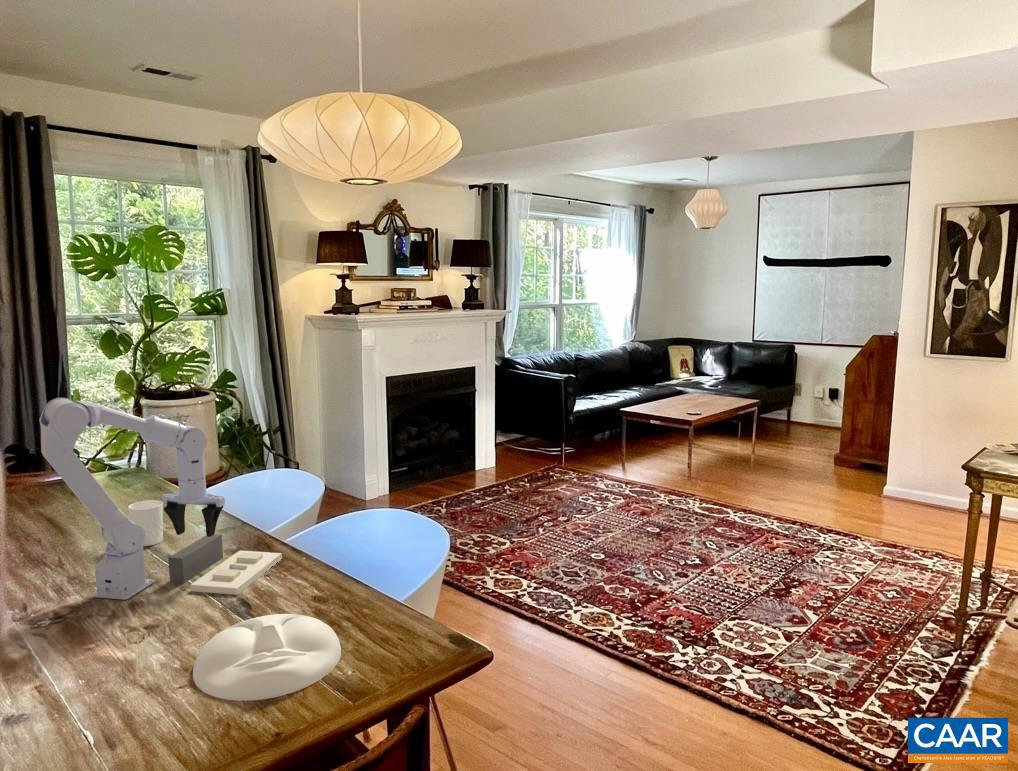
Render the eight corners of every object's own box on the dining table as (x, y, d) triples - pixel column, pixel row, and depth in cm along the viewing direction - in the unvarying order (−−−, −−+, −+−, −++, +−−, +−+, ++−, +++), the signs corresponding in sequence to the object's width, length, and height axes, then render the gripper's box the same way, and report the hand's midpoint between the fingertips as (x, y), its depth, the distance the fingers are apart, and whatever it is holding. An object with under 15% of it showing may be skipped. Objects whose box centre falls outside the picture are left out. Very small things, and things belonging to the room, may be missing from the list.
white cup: (140, 550, 176) (137, 511, 175) (125, 543, 181) (122, 505, 179) (171, 540, 182) (168, 503, 181) (156, 534, 187) (153, 498, 186)
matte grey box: (184, 584, 157) (182, 558, 156) (170, 583, 157) (168, 557, 156) (223, 558, 171) (221, 534, 170) (210, 557, 172) (208, 534, 171)
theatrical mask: (185, 668, 108) (193, 600, 131) (188, 716, 109) (196, 641, 132) (349, 639, 117) (330, 580, 140) (351, 684, 118) (331, 618, 141)
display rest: (237, 594, 151) (237, 583, 150) (190, 591, 153) (190, 580, 152) (282, 559, 170) (281, 549, 170) (240, 556, 172) (239, 546, 172)
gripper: (230, 474, 164) (234, 530, 166) (173, 471, 166) (177, 526, 168) (213, 482, 157) (217, 540, 159) (154, 479, 159) (158, 537, 161)
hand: (195, 534), depth 163 cm, fingers open, 7 cm apart
